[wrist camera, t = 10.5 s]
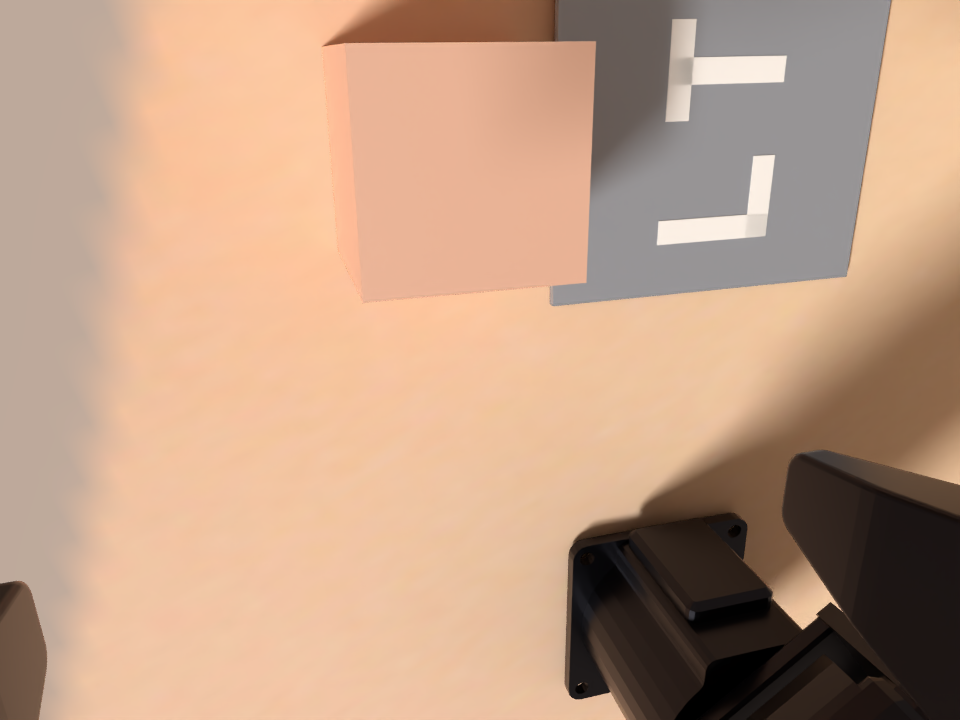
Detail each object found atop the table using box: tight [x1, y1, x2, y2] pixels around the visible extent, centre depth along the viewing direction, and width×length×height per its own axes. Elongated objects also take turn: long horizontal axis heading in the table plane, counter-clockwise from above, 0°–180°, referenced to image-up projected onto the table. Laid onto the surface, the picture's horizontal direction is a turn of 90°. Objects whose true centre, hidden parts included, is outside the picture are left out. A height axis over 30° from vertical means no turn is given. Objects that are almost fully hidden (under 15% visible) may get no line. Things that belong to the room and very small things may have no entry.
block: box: [322, 41, 596, 303], centre depth 18 cm, size 5×5×5 cm
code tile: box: [550, 0, 891, 306], centre depth 22 cm, size 9×10×1 cm
